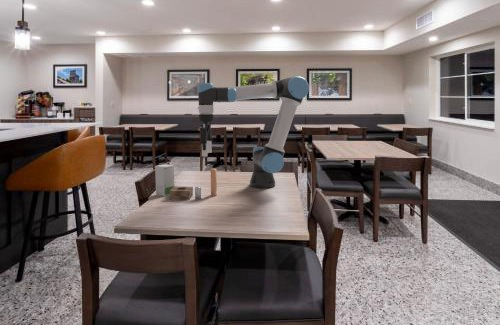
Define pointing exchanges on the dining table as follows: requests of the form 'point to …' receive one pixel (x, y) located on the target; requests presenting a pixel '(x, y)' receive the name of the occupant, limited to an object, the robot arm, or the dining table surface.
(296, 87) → the robot arm
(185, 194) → the socket block
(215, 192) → the long pin
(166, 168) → the skincare box
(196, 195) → the short pin
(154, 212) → the dining table surface
